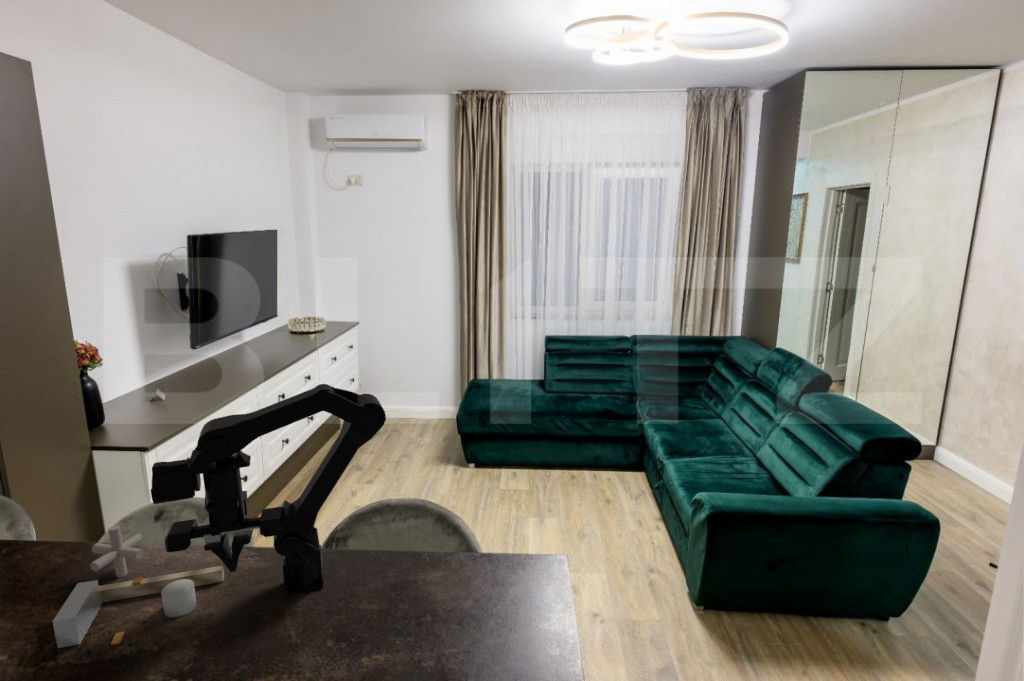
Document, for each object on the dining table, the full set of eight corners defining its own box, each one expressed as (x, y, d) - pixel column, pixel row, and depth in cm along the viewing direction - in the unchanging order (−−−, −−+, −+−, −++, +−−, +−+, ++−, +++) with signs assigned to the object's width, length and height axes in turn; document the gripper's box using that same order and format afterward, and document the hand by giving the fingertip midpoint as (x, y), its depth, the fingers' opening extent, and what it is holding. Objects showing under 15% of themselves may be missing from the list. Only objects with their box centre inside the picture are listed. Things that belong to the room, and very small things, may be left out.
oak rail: (224, 576, 110) (222, 563, 109) (222, 581, 108) (221, 568, 108) (90, 599, 103) (88, 585, 103) (87, 605, 102) (84, 591, 101)
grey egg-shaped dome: (199, 596, 104) (196, 576, 103) (193, 614, 100) (190, 594, 99) (168, 601, 103) (165, 582, 102) (160, 620, 98) (157, 599, 97)
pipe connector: (121, 594, 105) (113, 545, 102) (76, 587, 106) (67, 539, 104) (164, 562, 114) (157, 517, 112) (122, 556, 116) (114, 511, 114)
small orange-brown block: (124, 633, 95) (124, 631, 95) (119, 643, 93) (119, 641, 93) (116, 634, 95) (115, 633, 95) (111, 644, 92) (110, 643, 92)
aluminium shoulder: (102, 604, 102) (97, 580, 101) (79, 644, 92) (74, 617, 91) (82, 608, 101) (77, 583, 100) (57, 648, 92) (52, 621, 90)
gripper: (284, 465, 110) (291, 537, 113) (174, 478, 104) (185, 555, 107) (280, 491, 99) (288, 570, 103) (158, 508, 94) (171, 591, 97)
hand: (233, 570), depth 103 cm, fingers closed
